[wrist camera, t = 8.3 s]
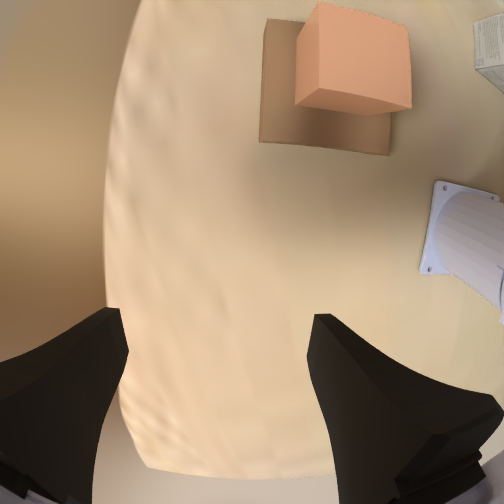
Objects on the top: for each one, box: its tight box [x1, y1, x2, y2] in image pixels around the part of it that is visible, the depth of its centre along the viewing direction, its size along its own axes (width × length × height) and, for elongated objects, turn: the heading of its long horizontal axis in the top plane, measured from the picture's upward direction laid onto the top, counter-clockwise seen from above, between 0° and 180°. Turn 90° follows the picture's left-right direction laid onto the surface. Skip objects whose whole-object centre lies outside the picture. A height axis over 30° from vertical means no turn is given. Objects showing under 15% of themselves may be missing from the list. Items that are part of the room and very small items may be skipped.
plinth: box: [259, 19, 391, 156], centre depth 15 cm, size 8×8×2 cm
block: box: [295, 2, 412, 117], centre depth 11 cm, size 4×4×5 cm
